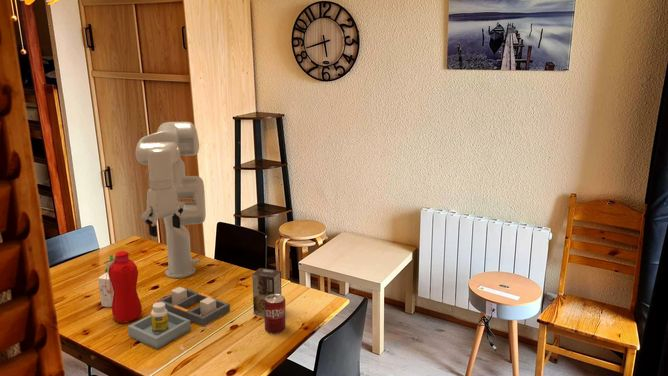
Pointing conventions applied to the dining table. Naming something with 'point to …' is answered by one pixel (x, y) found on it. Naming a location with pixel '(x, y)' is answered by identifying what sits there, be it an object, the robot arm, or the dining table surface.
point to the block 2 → (207, 306)
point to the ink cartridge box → (104, 294)
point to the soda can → (274, 313)
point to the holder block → (195, 312)
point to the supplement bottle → (159, 318)
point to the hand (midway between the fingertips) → (165, 231)
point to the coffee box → (264, 287)
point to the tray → (145, 335)
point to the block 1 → (178, 295)
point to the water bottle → (124, 288)
